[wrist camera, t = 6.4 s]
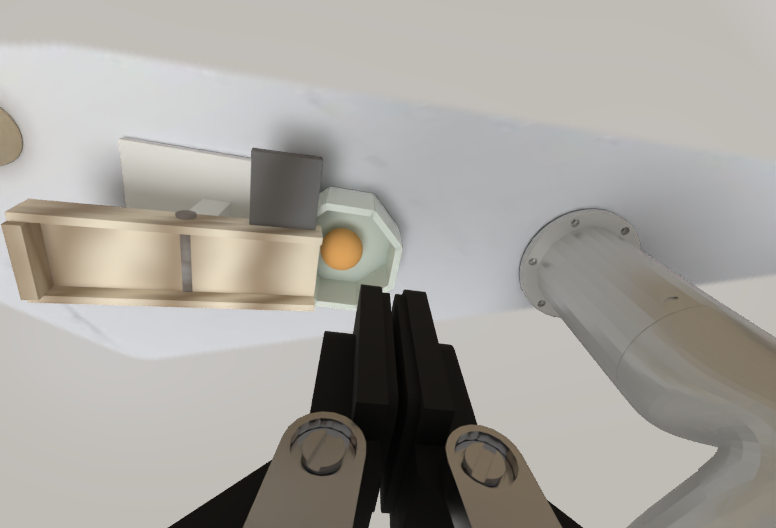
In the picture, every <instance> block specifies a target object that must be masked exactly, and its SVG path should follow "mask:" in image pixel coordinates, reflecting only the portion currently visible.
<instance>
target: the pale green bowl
mask: <svg viewBox="0 0 776 528" xmlns="http://www.w3.org/2000/svg"><path fill="white" fill-rule="evenodd" d="M316 225H321V230H322V236H323V238H324V237H325V235H326V234H327V233H329V232H330V231H332V230H334V229H338V228H345V229H349V230H351V231H353V232H354V233H356V234H357V235H358V237H359V238H360V240H361V242H362V245H363V253H362V257H361V259H360V261H359V262H358V263H357V264H356V265H355V266H354V267H352V268H350V269H348V270H336V269H333V268H331V267H329V266H328V265H327V264H326V263H325V262H324V260H323V259H322V256H321V252H320V250H319V258H318V267H317V275H316V284H315V292H314V302H315V306H319V307H328V308H336V309H344V310H353V311H357V305H358V299H359V292H360V286H361V284H364V285H372V286H380V287H382V292H384V293H387V292H389V291H390V290H392V289H393V288H394V286H395V281H396V277H397V272H398V268H399V263H400V258H401V254H402V249H403V247H402V243H401V238H400V234H399V229H398V226H397V225H396V223H395V222H394V221H393V219H392V218H391V217H390V215H389V214H388V212H387V211H386V210H385V208H384V207H383V206H382V204H381V203H380V201H379V200H378V199H377V197H376V196H375V195H374V194H373V193H367V192H361V191H355V190H349V189H343V188H336V187H328V188H327V189H325V190H324V191H322V192H321V193H320V194H319V202H318V211H317V220H316ZM320 246H321V245H320Z"/></svg>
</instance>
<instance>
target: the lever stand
mask: <svg viewBox="0 0 776 528" xmlns="http://www.w3.org/2000/svg"><path fill="white" fill-rule="evenodd" d="M118 143H119V151H120V160H121V169H122V177H123V186H124V195H125V204H126V208H136V209H147V210H158V211H169V212H177V211H181V210H190V211H194V212H196V214H202V215H213V216H224V217H235V218H246V219H249V215H250V182H251V158H246V157H240V156H234V155H228V154H222V153H216V152H210V151H204V150H198V149H192V148H186V147H180V146H174V145H168V144H163V143H157V142H151V141H145V140H139V139H133V138H127V137H123V138H120V139H118Z"/></svg>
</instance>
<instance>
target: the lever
mask: <svg viewBox="0 0 776 528" xmlns="http://www.w3.org/2000/svg"><path fill="white" fill-rule="evenodd" d="M322 166H323V158H322V157H316V156H309V155H302V154H295V153H287V152H280V151H273V150H266V149H258V148H252V151H251V182H250V215H249V219H246V218H235V217H224V216H213V215H202V214H196V212H194V211H190V210H181V211H177V212H169V211H158V210H147V209H136V208H125V207H114V206H103V205H92V204H81V203H70V202H59V201H48V200H37V199H27V200H25V201H24V202H22V203H20V204H18V205H16V206H15V207H13V208H11V209H9V210H7V211H6V212H5V215H6V219H7V221H6V222H4V223H2V224H1V226H2V230H3V234H4V238H5V241H6V245H7V249H8V253H9V256H10V260H11V264H12V268H13V271H14V275H15V279H16V283H17V287H18V290H19V294H20V298H21V300H28V302H31V303H63V304H95V305H127V306H159V307H191V308H222V309H254V310H286V311H314V308H315V302H314V292H315V284H316V275H317V267H318V258H319V250H320V245H322V241H323V236H322V230H321V225H316V220H317V211H318V202H319V193H320V184H321V175H322Z"/></svg>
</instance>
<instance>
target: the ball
mask: <svg viewBox="0 0 776 528" xmlns="http://www.w3.org/2000/svg"><path fill="white" fill-rule="evenodd" d="M320 252H321V256H322V259H323V260H324V262H325V263H326V264H327V265H328V266H329V267H331V268H333V269H336V270H348V269H350V268H352V267H354V266H355V265H356V264H357V263H358V262H359V261H360V259H361V257H362V253H363V245H362V242H361V240H360V238H359V237H358V235H357V234H356V233H354V232H353V231H351V230H349V229H345V228H338V229H334V230H332V231H330V232H329V233H327V234H326V235H325V237H324V238H323V241H322V245H321V246H320Z"/></svg>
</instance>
